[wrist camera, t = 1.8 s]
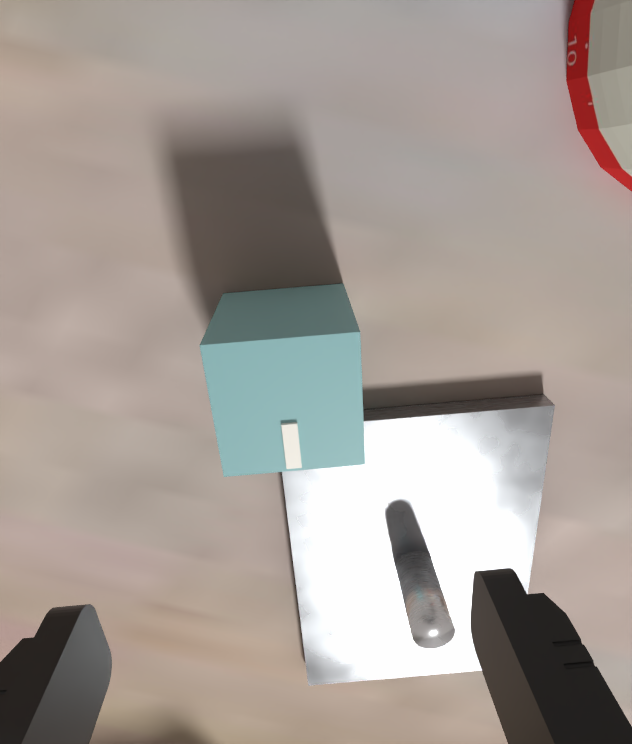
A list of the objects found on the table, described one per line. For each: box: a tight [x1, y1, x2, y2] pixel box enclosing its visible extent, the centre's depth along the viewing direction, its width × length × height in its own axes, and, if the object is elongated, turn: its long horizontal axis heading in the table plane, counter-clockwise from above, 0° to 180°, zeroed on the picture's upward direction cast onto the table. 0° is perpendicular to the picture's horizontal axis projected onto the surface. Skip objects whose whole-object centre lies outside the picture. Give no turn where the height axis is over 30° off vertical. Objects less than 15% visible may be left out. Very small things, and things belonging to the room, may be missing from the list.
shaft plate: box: [282, 394, 555, 686], centre depth 28 cm, size 20×14×6 cm
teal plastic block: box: [200, 283, 365, 477], centre depth 22 cm, size 6×6×7 cm
